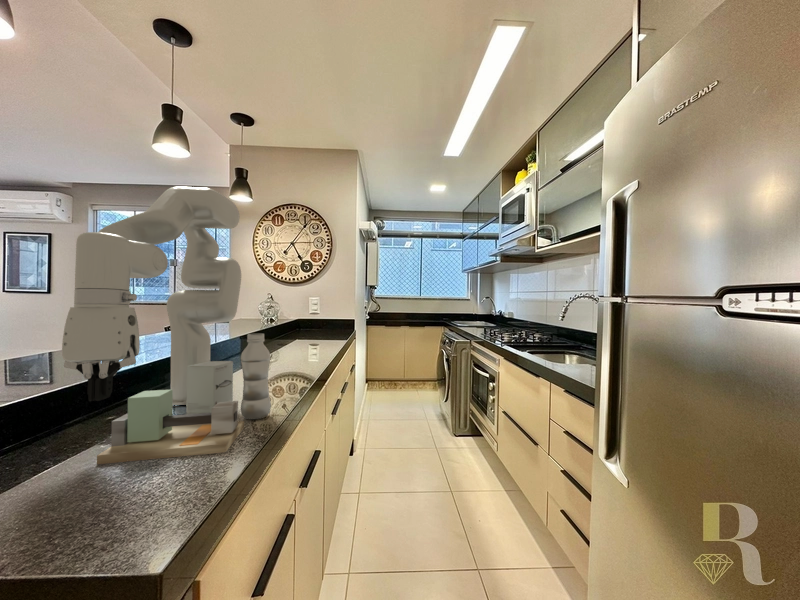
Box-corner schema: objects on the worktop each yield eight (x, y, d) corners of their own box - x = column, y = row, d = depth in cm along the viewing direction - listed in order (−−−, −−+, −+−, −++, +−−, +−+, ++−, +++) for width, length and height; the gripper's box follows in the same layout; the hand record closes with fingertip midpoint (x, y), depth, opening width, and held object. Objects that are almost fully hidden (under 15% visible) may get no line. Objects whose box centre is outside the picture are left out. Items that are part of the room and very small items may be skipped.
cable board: (139, 436, 65) (140, 401, 65) (244, 427, 69) (244, 395, 69) (96, 464, 53) (97, 422, 53) (225, 452, 57) (225, 413, 57)
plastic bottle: (260, 423, 71) (260, 335, 72) (233, 421, 73) (234, 335, 73) (276, 414, 78) (276, 333, 78) (252, 412, 79) (252, 332, 79)
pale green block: (143, 431, 62) (144, 391, 62) (172, 429, 63) (172, 389, 63) (127, 442, 57) (127, 398, 57) (158, 439, 58) (158, 396, 58)
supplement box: (213, 419, 74) (213, 365, 75) (185, 418, 75) (185, 365, 76) (233, 409, 82) (233, 360, 82) (207, 408, 83) (207, 360, 83)
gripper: (159, 300, 64) (157, 391, 63) (71, 301, 61) (68, 396, 60) (136, 298, 57) (133, 401, 56) (35, 299, 54) (31, 408, 53)
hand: (99, 398), depth 58 cm, fingers closed
